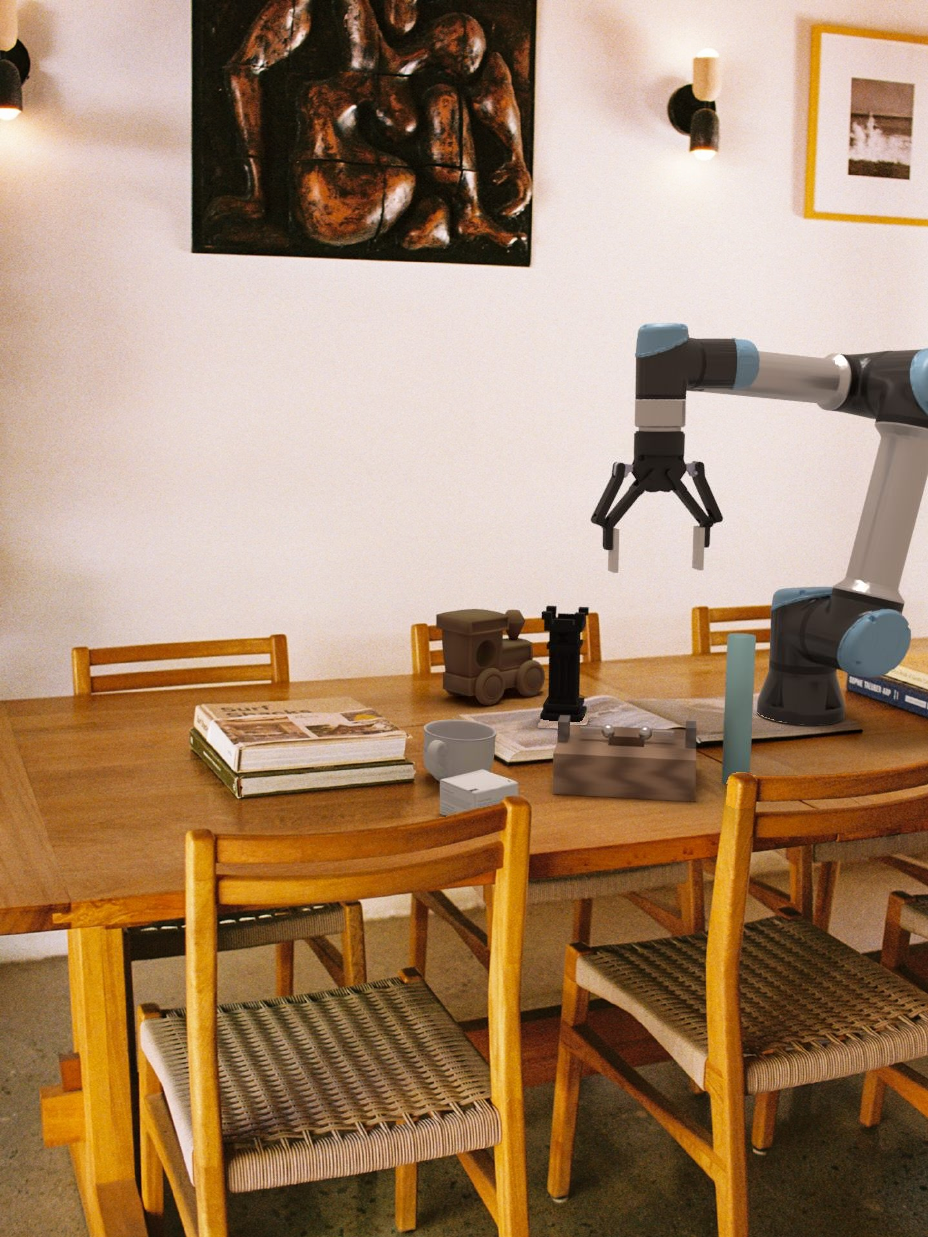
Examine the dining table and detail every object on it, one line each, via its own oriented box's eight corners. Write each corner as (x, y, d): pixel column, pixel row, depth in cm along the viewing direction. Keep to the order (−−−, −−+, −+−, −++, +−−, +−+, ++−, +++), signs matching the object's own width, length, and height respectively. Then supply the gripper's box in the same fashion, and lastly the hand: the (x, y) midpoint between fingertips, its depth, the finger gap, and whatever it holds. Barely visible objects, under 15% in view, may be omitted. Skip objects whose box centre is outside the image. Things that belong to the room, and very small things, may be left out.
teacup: (454, 764, 193) (455, 714, 192) (510, 778, 186) (511, 726, 185) (393, 786, 182) (393, 732, 181) (450, 801, 176) (450, 746, 174)
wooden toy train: (472, 711, 225) (473, 620, 222) (432, 699, 234) (432, 612, 231) (551, 694, 238) (552, 608, 235) (510, 683, 247) (510, 600, 244)
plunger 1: (615, 736, 185) (615, 723, 185) (614, 740, 183) (614, 726, 183) (580, 734, 186) (581, 721, 186) (579, 738, 184) (580, 725, 184)
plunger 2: (673, 739, 184) (674, 726, 183) (673, 742, 182) (673, 729, 181) (638, 737, 184) (638, 724, 184) (638, 741, 183) (638, 728, 182)
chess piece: (584, 730, 212) (586, 614, 209) (537, 728, 214) (538, 612, 210) (588, 719, 220) (591, 606, 217) (543, 716, 222) (545, 605, 218)
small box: (482, 803, 175) (483, 768, 174) (519, 818, 169) (519, 781, 168) (438, 814, 171) (438, 778, 170) (474, 830, 164) (474, 792, 164)
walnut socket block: (693, 768, 191) (695, 711, 189) (694, 801, 176) (697, 739, 174) (562, 761, 194) (563, 705, 193) (552, 793, 179) (553, 732, 177)
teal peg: (748, 779, 186) (755, 633, 182) (750, 787, 182) (756, 639, 178) (721, 777, 187) (727, 632, 183) (722, 786, 183) (728, 638, 179)
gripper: (727, 428, 193) (722, 564, 197) (572, 429, 188) (569, 569, 192) (748, 429, 186) (742, 571, 190) (586, 430, 181) (584, 576, 185)
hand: (655, 570), depth 191 cm, fingers open, 13 cm apart
